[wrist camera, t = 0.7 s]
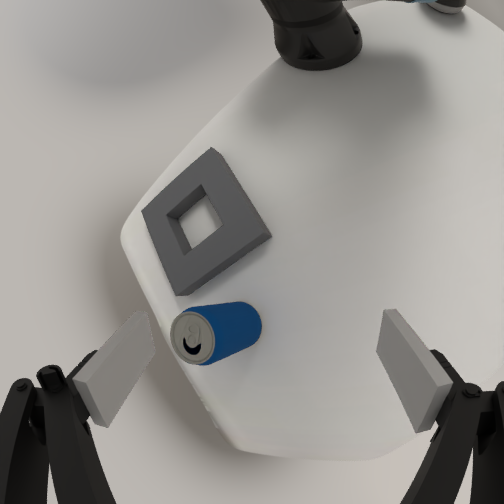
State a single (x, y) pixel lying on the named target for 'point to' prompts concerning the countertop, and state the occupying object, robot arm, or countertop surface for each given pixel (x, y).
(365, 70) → the countertop surface
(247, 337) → the beverage can
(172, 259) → the socket plate
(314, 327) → the countertop surface
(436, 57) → the countertop surface
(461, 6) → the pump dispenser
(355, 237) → the countertop surface
